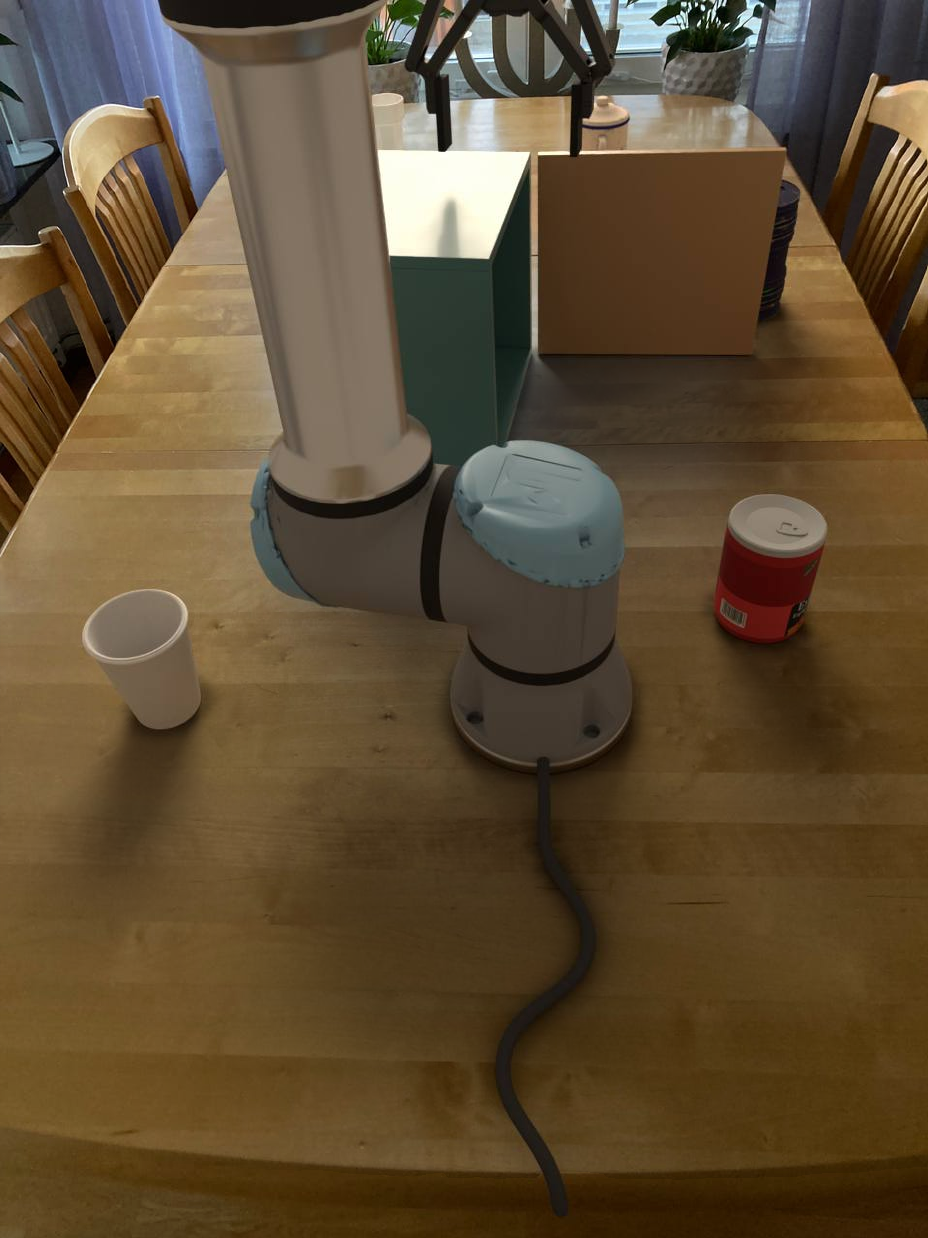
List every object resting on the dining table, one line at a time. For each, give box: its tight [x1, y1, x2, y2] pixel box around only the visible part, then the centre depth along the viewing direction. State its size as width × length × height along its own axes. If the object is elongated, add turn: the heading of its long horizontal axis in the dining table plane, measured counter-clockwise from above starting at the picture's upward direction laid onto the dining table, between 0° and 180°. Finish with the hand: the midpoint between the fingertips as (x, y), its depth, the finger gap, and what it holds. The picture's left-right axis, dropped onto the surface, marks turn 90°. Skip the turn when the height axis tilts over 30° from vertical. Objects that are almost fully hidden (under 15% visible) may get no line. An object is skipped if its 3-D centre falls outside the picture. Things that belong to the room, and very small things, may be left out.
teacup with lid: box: [581, 95, 631, 151], centre depth 159 cm, size 12×9×12 cm
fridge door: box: [537, 146, 788, 356], centre depth 115 cm, size 7×26×24 cm, turn 84°
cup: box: [372, 92, 405, 150], centre depth 167 cm, size 7×7×11 cm
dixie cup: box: [81, 588, 202, 730], centre depth 81 cm, size 8×8×10 cm
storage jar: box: [757, 178, 802, 323], centre depth 123 cm, size 10×10×15 cm
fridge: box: [378, 149, 533, 467], centre depth 107 cm, size 18×26×24 cm
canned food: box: [713, 493, 828, 644], centre depth 84 cm, size 8×8×11 cm
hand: (509, 150), depth 98 cm, fingers open, 13 cm apart
